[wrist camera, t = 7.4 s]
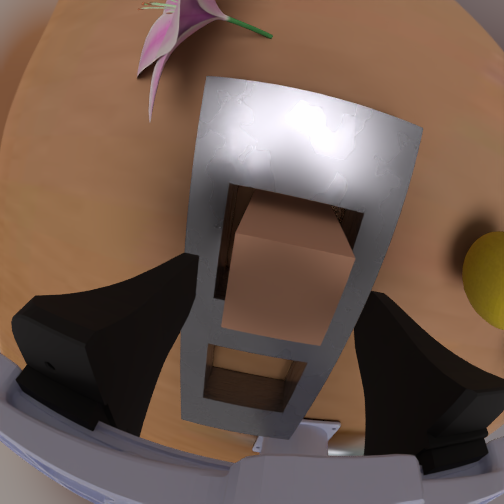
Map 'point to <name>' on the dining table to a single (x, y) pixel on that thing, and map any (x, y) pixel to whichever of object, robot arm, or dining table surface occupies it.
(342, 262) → the peg
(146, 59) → the lily
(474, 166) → the dining table surface
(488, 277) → the lemon
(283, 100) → the grey slotted board
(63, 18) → the dining table surface
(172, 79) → the dining table surface
